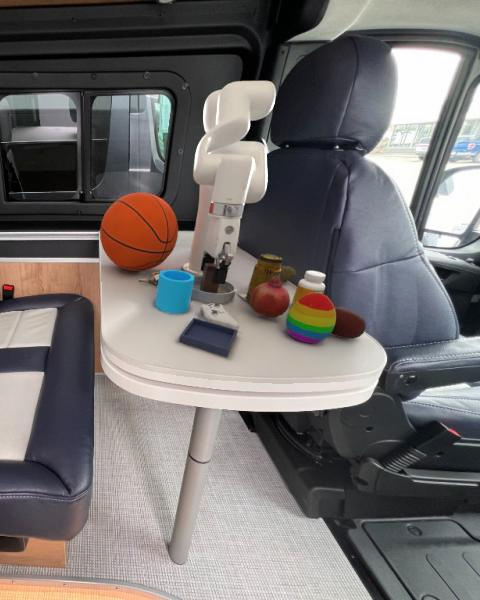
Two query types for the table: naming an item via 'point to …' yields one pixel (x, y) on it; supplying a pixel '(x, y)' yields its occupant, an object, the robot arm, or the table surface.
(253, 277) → the condiment
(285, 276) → the hand grenade
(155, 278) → the computer mouse
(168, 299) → the mug
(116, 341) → the table surface
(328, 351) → the table surface
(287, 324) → the decorative egg
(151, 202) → the basket ball
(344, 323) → the potato
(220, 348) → the tray
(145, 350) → the table surface
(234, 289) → the bowl
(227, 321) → the gaming controller
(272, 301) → the fruit
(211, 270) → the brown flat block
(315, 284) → the supplement bottle
